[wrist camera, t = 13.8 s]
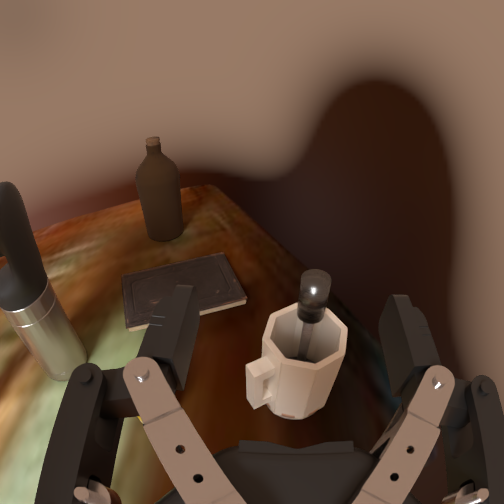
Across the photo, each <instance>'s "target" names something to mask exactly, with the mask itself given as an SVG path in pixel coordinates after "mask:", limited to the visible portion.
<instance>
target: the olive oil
mask: <svg viewBox="0 0 504 504" xmlns="http://www.w3.org/2000/svg"><path fill="white" fill-rule="evenodd" d="M159 140H160V139H159V137H150V138H147V139H146V143H147V145H146V149H147V156H146V157H145V159H144V160H143V162H142V163H141V164H140V166H139V168H138V169H137V172H136V186H137V190H138V194H139V198H140V202H141V206H142V210H143V214H144V219H145V223H146V227H147V231H148V235H149V237H150V238H151V239H153V240H156V241H168V240H172V239H174V238H176V237H178V236H179V235H181V233H182V232H183V219H182V208H181V193H180V175H179V171H178V168H177V166H176V165H175V163H174V162H173V161H171V160H170V159H169V158H168V157H166V156H165V155H164V154H163V153H162V152H161V144H160V142H159Z"/></svg>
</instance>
